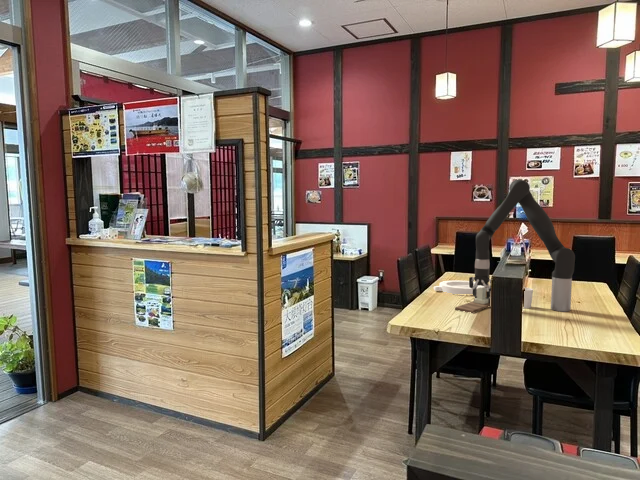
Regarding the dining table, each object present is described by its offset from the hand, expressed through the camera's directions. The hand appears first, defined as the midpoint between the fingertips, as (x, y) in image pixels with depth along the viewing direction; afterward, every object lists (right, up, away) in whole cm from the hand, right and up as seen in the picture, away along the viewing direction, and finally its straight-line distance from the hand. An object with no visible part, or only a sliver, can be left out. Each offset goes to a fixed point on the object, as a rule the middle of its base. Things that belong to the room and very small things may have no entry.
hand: (481, 296), depth 245 cm
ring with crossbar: (+2, -2, +40) cm, 40 cm away
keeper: (0, -3, 0) cm, 3 cm away
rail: (-5, -5, -5) cm, 9 cm away
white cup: (+22, -5, -3) cm, 23 cm away
